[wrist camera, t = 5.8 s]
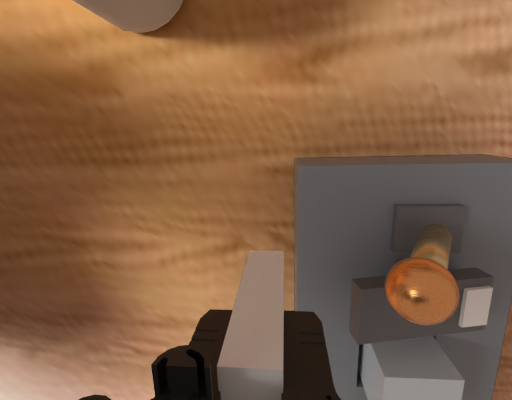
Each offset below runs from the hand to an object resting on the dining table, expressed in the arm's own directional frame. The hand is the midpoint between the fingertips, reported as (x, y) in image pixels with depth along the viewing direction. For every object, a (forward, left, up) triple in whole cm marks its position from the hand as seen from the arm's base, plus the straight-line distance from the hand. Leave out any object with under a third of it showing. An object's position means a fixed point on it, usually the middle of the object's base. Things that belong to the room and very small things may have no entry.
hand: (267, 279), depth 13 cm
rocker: (+9, -4, -5) cm, 11 cm away
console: (+9, -8, -12) cm, 17 cm away
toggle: (+10, 0, -5) cm, 11 cm away
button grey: (+9, -10, -9) cm, 16 cm away
